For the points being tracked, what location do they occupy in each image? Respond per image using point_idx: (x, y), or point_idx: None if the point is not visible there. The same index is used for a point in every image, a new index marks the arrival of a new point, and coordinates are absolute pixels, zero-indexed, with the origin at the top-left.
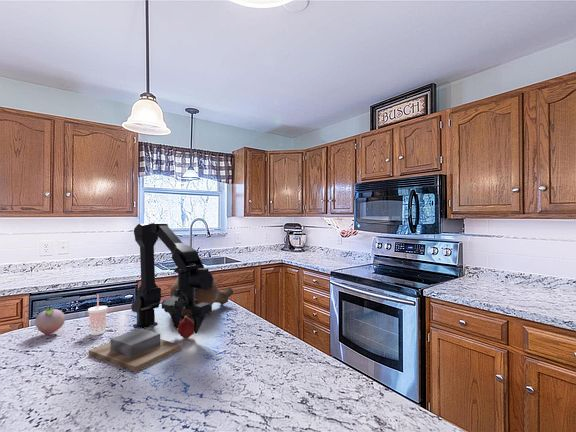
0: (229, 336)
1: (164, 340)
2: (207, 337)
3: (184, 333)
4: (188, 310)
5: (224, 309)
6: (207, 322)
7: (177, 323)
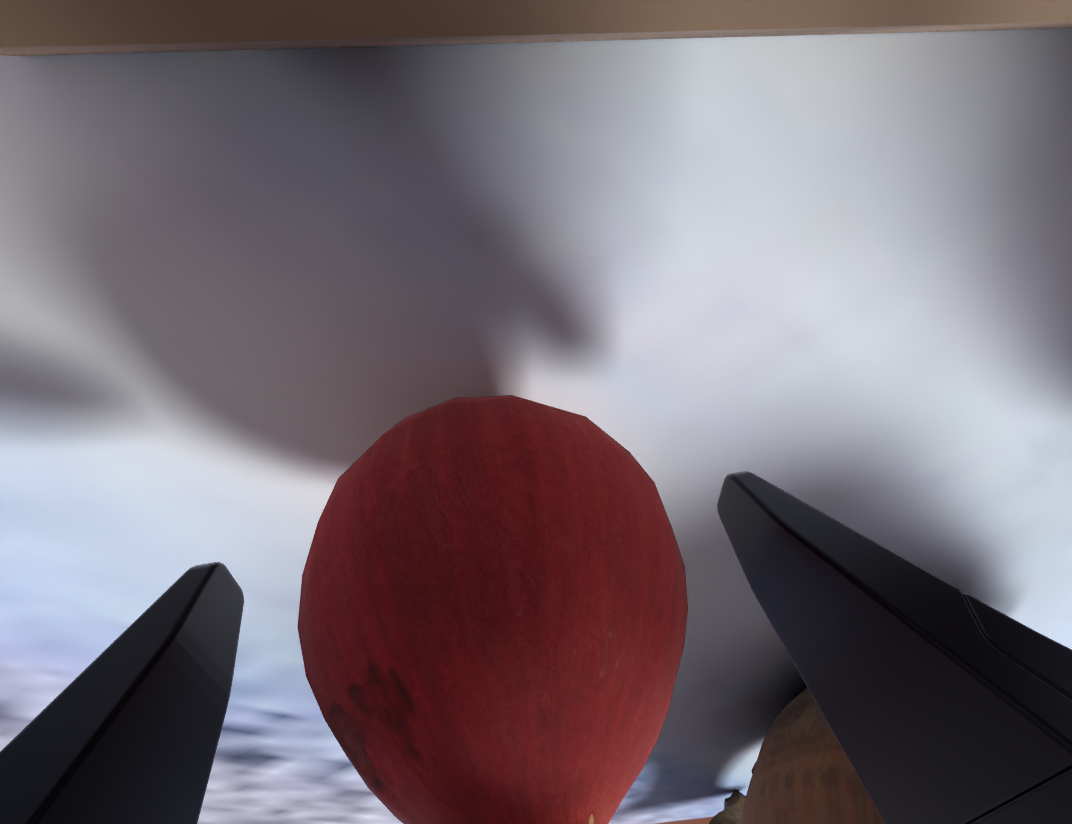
0: None
1: (634, 16)
2: (282, 592)
3: (371, 449)
4: None
5: (675, 790)
6: None
7: (774, 570)
